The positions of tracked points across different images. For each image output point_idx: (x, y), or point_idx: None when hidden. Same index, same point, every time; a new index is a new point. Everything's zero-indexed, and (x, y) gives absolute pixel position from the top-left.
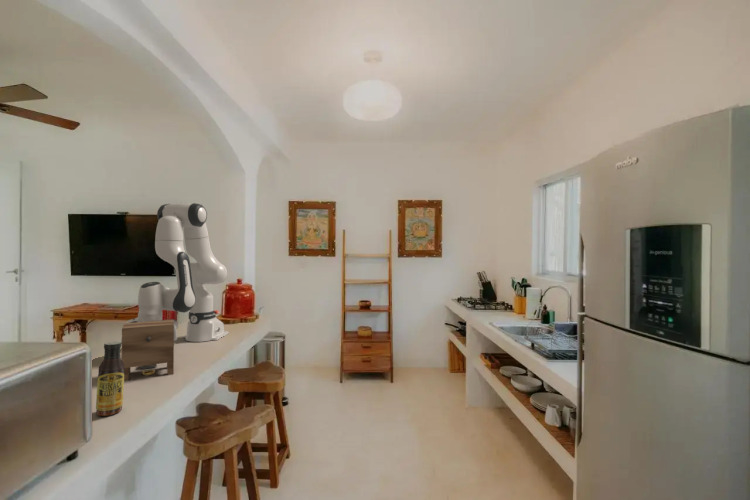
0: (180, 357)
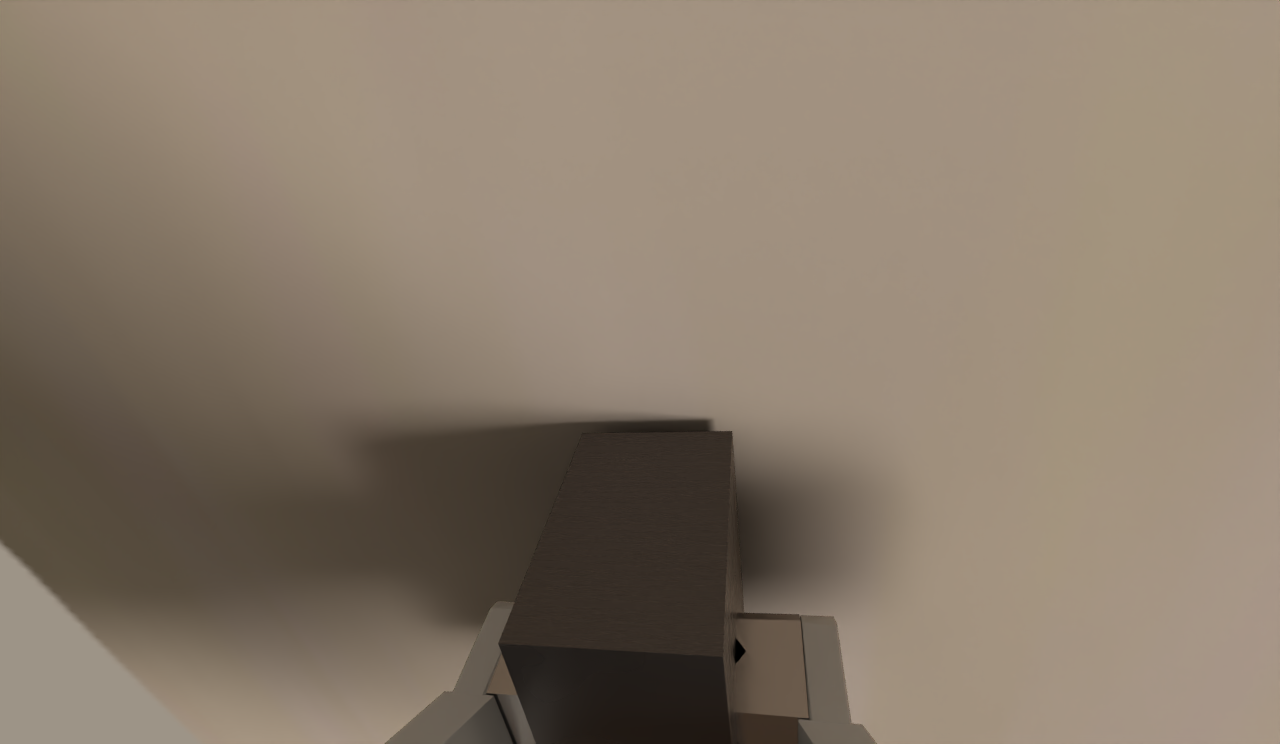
0: (1272, 733)
